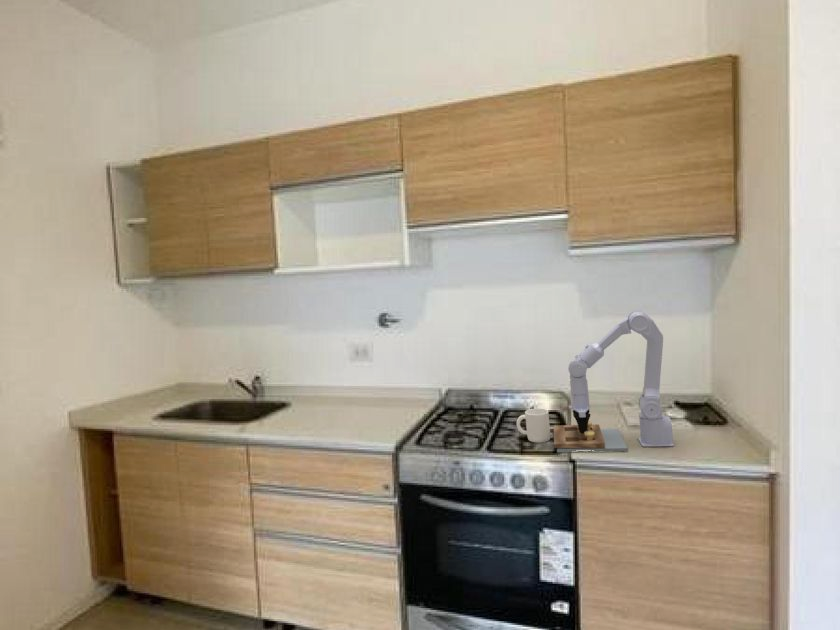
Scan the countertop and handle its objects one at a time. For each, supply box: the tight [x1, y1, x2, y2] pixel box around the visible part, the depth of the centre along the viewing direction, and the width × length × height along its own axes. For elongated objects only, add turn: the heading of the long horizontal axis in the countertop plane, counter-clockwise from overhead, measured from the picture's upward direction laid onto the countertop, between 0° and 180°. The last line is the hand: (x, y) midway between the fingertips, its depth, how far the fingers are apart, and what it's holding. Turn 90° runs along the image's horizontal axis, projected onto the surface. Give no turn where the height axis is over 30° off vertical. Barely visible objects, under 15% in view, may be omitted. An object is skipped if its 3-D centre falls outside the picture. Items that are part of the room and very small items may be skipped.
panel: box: [553, 424, 605, 449], centre depth 167 cm, size 16×20×5 cm
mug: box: [516, 408, 551, 444], centre depth 175 cm, size 12×8×10 cm
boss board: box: [556, 421, 629, 453], centre depth 166 cm, size 22×20×5 cm
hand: (583, 431), depth 166 cm, fingers closed on panel, 2 cm apart
